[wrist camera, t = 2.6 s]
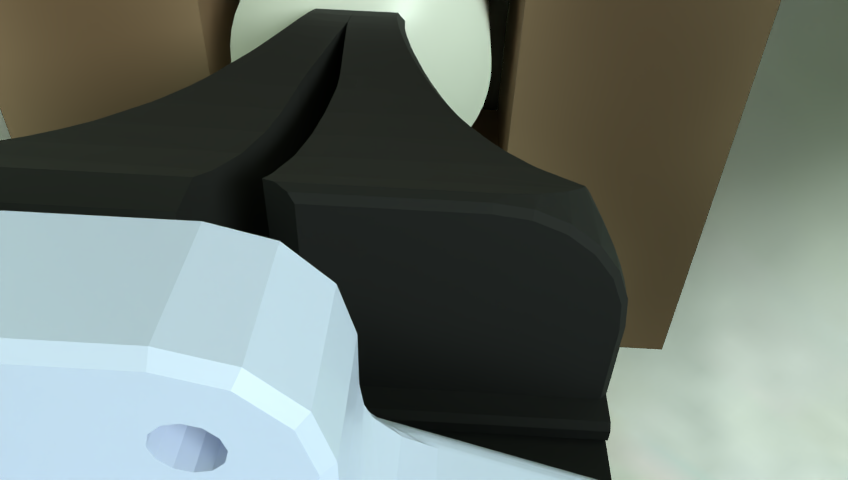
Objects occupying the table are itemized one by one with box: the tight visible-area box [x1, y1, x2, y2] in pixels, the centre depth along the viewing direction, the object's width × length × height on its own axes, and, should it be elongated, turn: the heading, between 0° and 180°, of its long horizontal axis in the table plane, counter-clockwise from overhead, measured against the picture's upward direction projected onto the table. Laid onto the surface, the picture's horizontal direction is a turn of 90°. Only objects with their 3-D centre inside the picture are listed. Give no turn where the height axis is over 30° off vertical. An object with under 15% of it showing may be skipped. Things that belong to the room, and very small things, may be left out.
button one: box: [230, 0, 491, 127], centre depth 13 cm, size 4×4×3 cm
